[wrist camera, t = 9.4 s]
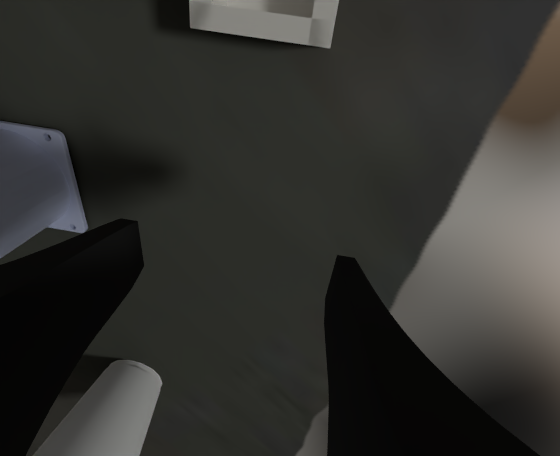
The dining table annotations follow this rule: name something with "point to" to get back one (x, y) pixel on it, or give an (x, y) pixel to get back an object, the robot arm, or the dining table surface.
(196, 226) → the dining table surface
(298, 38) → the gray square open box
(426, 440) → the robot arm
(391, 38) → the dining table surface
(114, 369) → the foam cup
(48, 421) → the dining table surface
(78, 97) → the dining table surface
